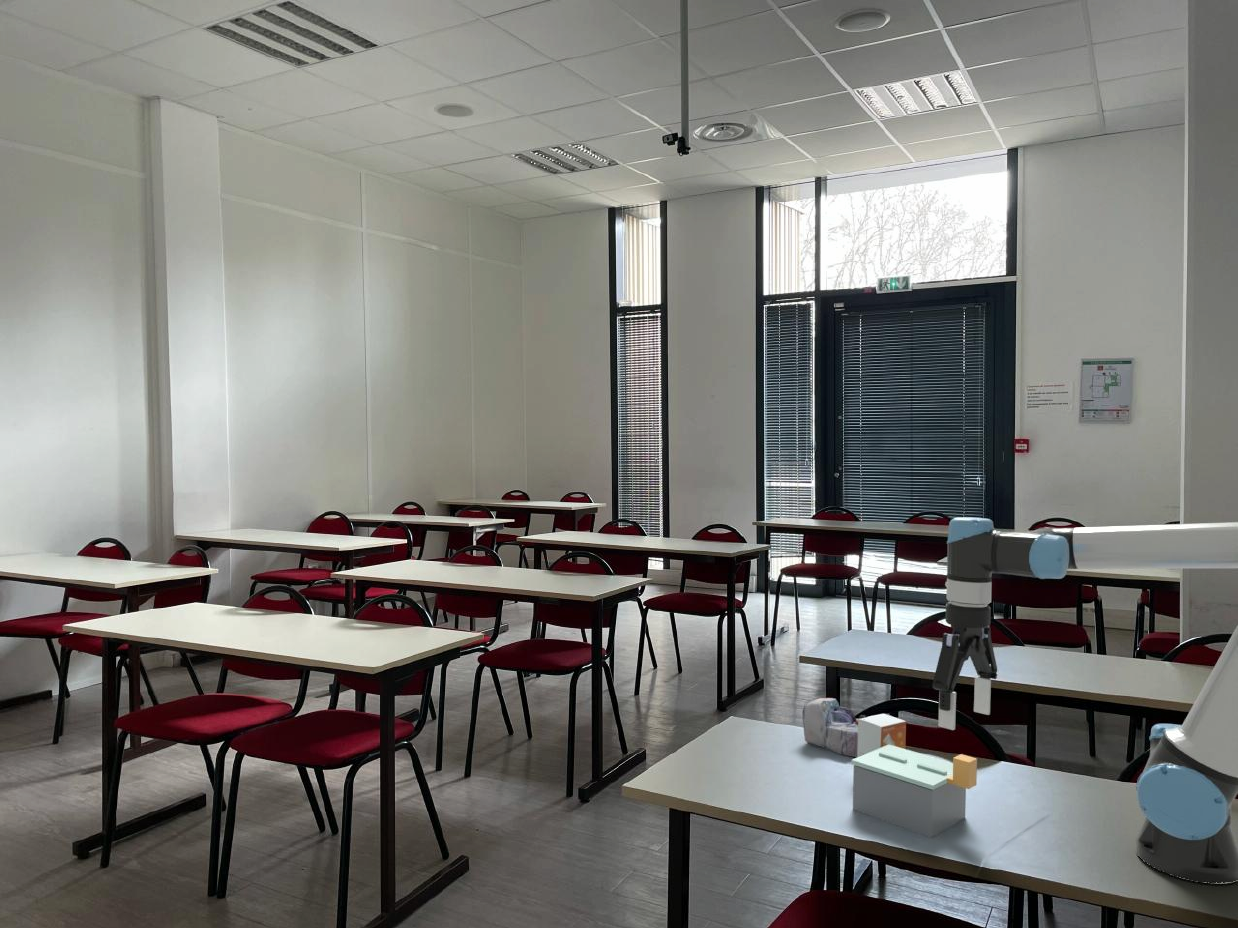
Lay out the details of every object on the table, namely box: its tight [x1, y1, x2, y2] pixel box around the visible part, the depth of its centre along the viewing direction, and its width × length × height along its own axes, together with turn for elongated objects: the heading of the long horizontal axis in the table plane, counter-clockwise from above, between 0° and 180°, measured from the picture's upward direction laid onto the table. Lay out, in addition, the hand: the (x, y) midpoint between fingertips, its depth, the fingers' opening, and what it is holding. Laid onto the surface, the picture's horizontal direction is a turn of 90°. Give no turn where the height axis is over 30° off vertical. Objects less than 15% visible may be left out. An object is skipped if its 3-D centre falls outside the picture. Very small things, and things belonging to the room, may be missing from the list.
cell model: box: [802, 697, 875, 758], centre depth 202 cm, size 13×11×20 cm
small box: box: [856, 713, 907, 758], centre depth 182 cm, size 8×6×13 cm
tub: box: [852, 765, 967, 839], centre depth 164 cm, size 16×13×9 cm
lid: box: [851, 745, 978, 790], centre depth 163 cm, size 21×14×5 cm, turn 42°
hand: (964, 720), depth 156 cm, fingers open, 13 cm apart
